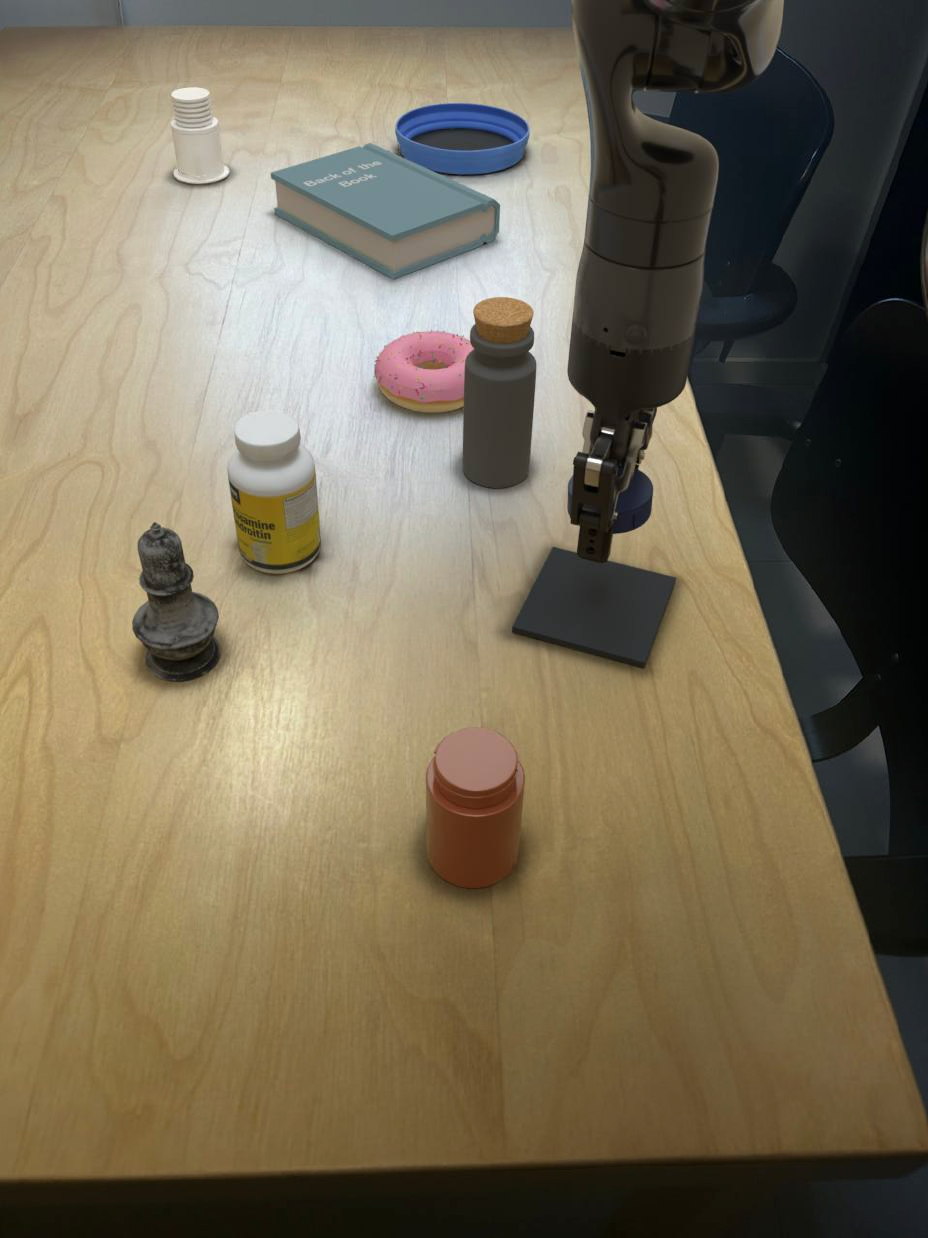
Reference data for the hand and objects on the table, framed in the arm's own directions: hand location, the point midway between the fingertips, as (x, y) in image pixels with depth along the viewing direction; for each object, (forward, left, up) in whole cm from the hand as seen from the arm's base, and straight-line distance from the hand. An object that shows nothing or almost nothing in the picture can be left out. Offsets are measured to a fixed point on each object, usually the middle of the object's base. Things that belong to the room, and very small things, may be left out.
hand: (605, 530), depth 78 cm
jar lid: (0, 0, +3) cm, 3 cm away
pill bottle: (+25, +3, -8) cm, 26 cm away
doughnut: (+23, -24, -8) cm, 34 cm away
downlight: (+70, -61, -8) cm, 93 cm away
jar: (+1, +24, -7) cm, 25 cm away
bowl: (+42, -82, -8) cm, 92 cm away
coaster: (0, 0, -7) cm, 7 cm away
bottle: (+13, -14, -8) cm, 20 cm away
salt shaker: (+26, +16, -8) cm, 31 cm away
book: (+42, -56, -8) cm, 70 cm away
